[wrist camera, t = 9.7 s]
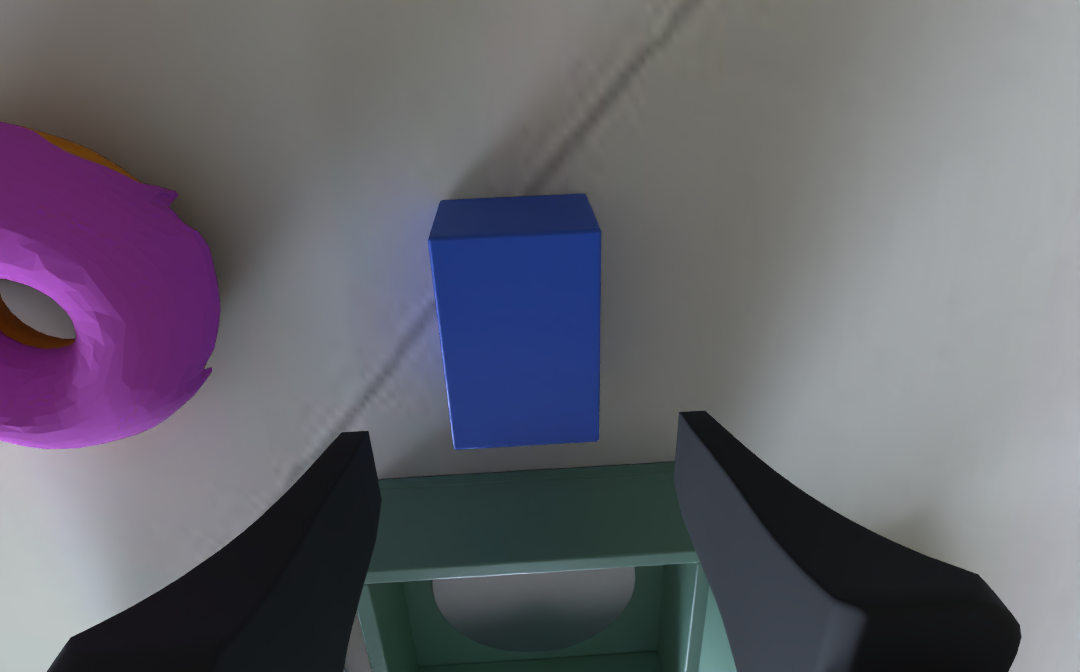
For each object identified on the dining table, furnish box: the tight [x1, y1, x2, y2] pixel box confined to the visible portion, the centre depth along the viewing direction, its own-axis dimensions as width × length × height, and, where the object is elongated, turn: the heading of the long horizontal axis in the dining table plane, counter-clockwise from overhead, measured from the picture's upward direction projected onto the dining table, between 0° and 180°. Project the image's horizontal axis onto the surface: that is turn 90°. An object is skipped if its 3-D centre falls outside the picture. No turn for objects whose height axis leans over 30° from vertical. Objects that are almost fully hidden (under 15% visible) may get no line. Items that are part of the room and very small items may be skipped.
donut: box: [0, 122, 220, 449], centre depth 18 cm, size 10×10×5 cm
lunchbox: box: [357, 462, 710, 672], centre depth 26 cm, size 12×11×5 cm
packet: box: [428, 194, 601, 450], centre depth 20 cm, size 5×7×4 cm, turn 2°
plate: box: [432, 567, 636, 652], centre depth 27 cm, size 9×9×1 cm
